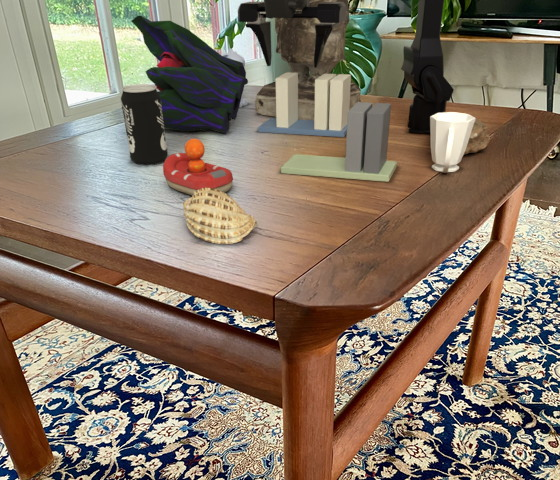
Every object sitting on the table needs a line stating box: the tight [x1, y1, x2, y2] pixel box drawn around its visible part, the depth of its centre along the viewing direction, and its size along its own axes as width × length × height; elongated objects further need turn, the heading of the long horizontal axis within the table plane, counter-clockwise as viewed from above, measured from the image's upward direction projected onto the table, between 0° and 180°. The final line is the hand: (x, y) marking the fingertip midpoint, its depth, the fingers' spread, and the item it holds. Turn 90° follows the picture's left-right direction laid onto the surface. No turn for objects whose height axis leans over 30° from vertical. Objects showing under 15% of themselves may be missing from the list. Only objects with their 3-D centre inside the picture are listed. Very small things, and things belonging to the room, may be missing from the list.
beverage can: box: [120, 83, 169, 166], centre depth 100 cm, size 7×7×12 cm
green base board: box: [280, 101, 398, 183], centre depth 94 cm, size 18×8×10 cm, turn 72°
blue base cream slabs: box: [257, 73, 352, 138], centre depth 117 cm, size 18×8×10 cm, turn 72°
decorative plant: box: [121, 14, 249, 135], centre depth 118 cm, size 21×26×30 cm
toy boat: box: [162, 138, 234, 197], centre depth 89 cm, size 8×12×8 cm, turn 47°
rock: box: [429, 117, 491, 155], centre depth 104 cm, size 13×11×5 cm
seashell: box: [182, 188, 258, 245], centre depth 76 cm, size 8×6×10 cm
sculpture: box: [254, 0, 362, 120], centre depth 124 cm, size 19×17×30 cm
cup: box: [430, 111, 476, 174], centre depth 94 cm, size 7×10×8 cm
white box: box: [275, 71, 298, 128], centre depth 118 cm, size 2×7×9 cm, turn 162°
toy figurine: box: [220, 48, 249, 108], centre depth 137 cm, size 7×6×12 cm
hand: (292, 66), depth 108 cm, fingers open, 9 cm apart
